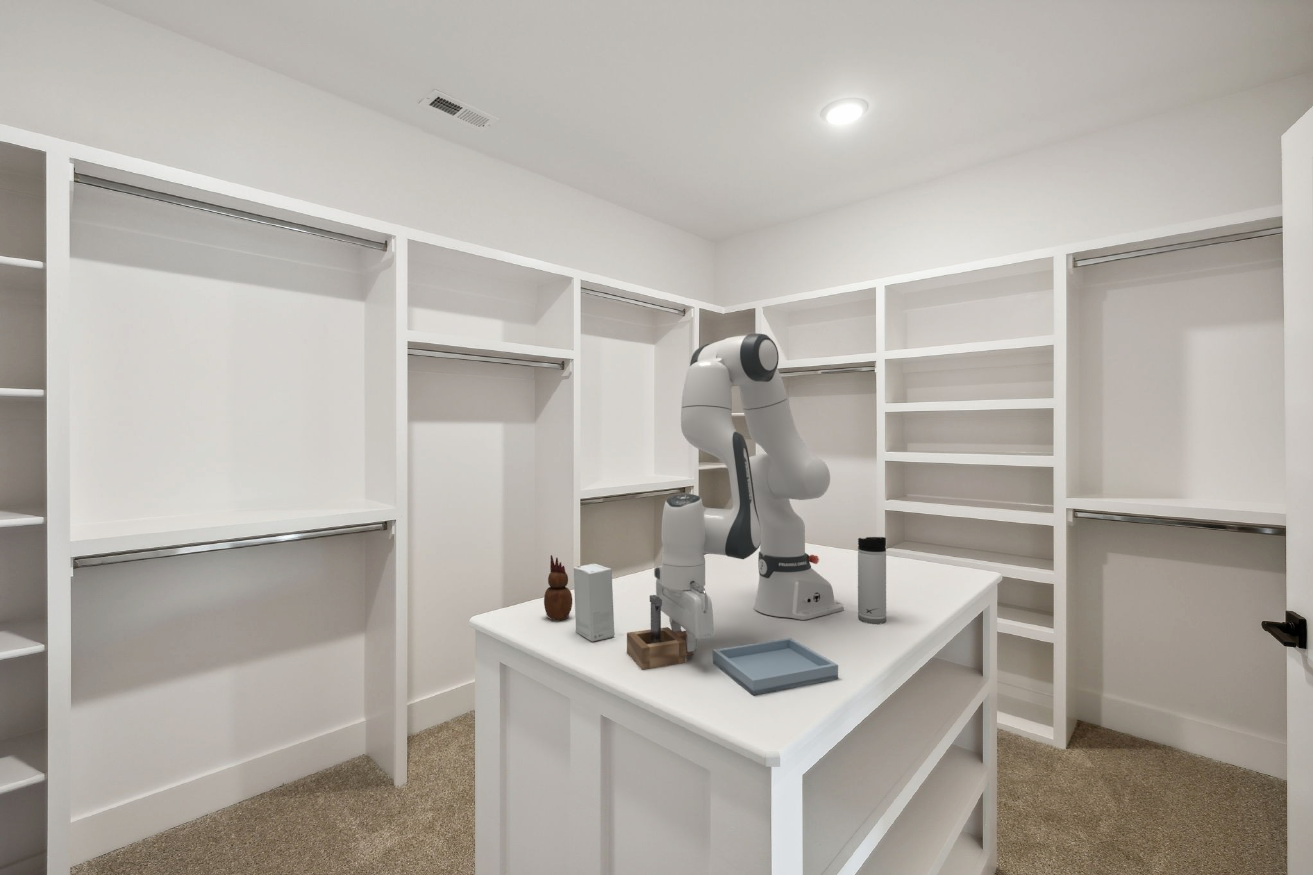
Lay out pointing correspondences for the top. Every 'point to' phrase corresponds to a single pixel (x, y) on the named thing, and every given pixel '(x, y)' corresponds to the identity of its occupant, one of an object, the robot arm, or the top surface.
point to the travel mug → (872, 579)
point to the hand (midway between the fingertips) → (683, 644)
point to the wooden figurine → (557, 593)
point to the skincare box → (594, 602)
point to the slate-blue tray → (774, 665)
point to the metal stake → (655, 619)
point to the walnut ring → (657, 648)
